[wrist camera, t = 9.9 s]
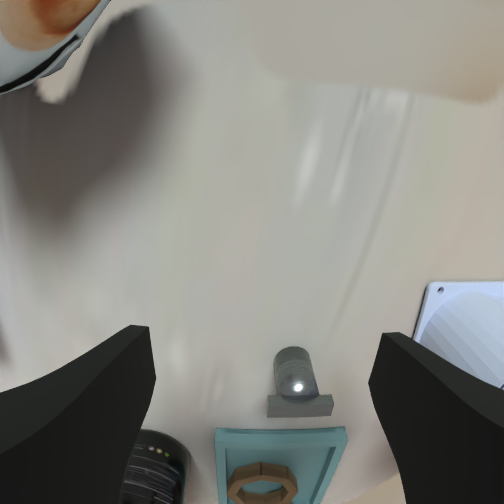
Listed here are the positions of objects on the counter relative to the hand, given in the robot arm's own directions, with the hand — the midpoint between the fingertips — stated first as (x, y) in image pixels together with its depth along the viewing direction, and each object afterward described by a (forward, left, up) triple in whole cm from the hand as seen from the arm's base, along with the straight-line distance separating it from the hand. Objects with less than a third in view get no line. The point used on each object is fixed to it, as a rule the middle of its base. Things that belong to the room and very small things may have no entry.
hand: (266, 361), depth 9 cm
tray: (-2, +21, -9) cm, 23 cm away
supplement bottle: (+8, +19, -10) cm, 22 cm away
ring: (-2, +23, -8) cm, 24 cm away
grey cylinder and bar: (-2, +7, -9) cm, 12 cm away
